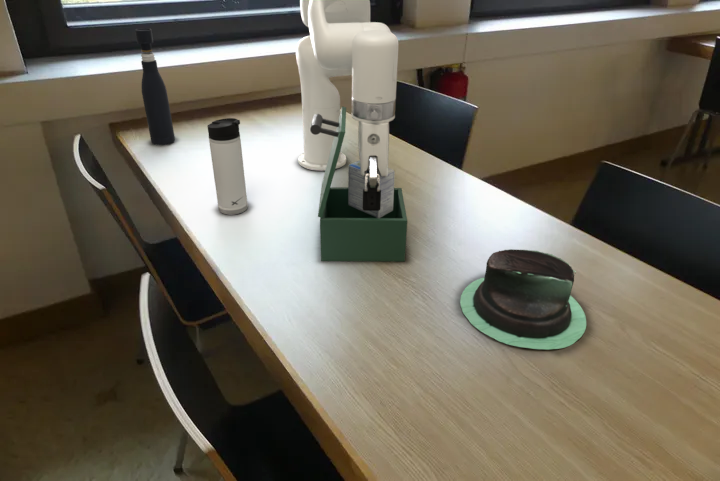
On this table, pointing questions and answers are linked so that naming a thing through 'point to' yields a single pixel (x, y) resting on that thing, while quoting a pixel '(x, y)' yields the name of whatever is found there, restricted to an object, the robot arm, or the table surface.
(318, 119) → the lid
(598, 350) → the table surface
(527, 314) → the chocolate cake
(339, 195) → the chest
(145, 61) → the dark blue water bottle
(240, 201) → the travel mug
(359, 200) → the medicine box
